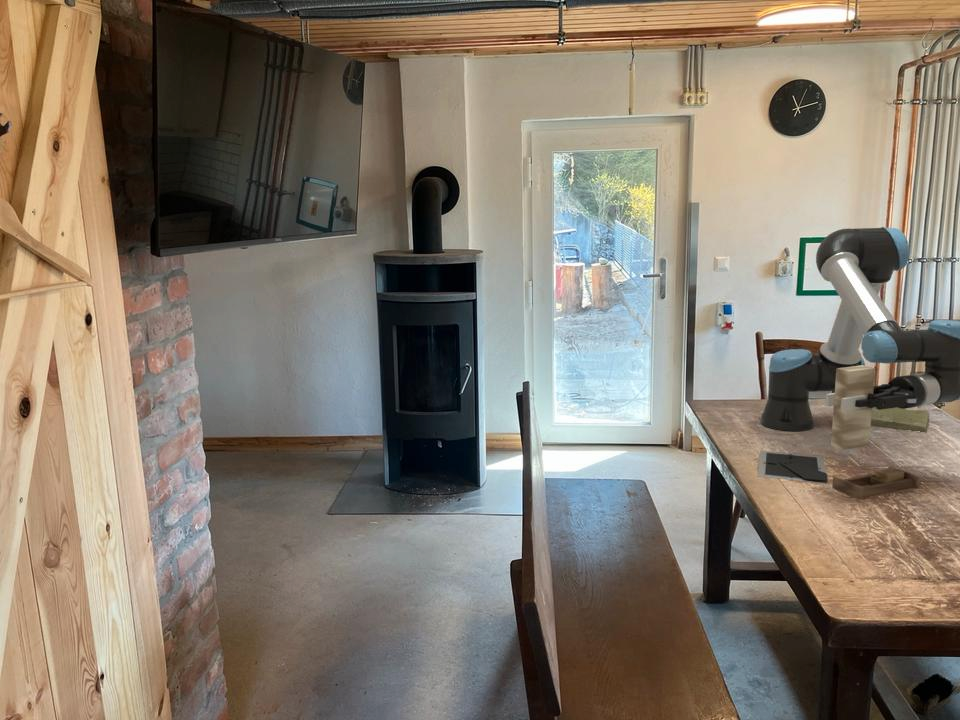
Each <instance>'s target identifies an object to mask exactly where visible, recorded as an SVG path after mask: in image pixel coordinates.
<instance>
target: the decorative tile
mask: <svg viewBox="0 0 960 720" xmlns="http://www.w3.org/2000/svg"><path fill="white" fill-rule="evenodd" d="M929 422H930V412H929V411H926V410H917V409H916V410H915V409H907V408H906V409H901V408H890V409H882V410H878V409H876V407H874V408H872V413H871V425H870V427H874V428H876V427H877V428H884V429H891V428H892V429H891V430H898V429H901V430H900V431H906V430H911V431H910V432H914V431H920V432H919V433H921V432H926V431H928V428H927V427H929ZM926 433H927V432H926Z"/></svg>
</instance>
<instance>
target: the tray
mask: <svg viewBox="0 0 960 720" xmlns="http://www.w3.org/2000/svg"><path fill="white" fill-rule="evenodd" d="M888 468H893V469H896V470H899V471H902V472H904V480H898V481H893V482H888V483H885V482H884V481H881V480H879V479H876V478H875V473H870V474H865V475H860V476H855V477H849V478H841V477H839V476H837V475H834V476H832V487H831V488H832V489H834V490H835V491H838V492H840V493H842V494H846V495H848V496H850V497H852V498H855V499H856V500H859V501H862V500H868V499H872V498H876V497H877V498H878V497H881V496H882V497H883V496H888V495H893V494H897V493H903V492H907V491H913V490H916V489H920V488H921V487H920V485H921V476H920V475H916V474H914V473H911V472H909V471H907V470H906V471H905V470H903V469H900V468H897V467H894V466H891V465H889V466H888Z"/></svg>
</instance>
